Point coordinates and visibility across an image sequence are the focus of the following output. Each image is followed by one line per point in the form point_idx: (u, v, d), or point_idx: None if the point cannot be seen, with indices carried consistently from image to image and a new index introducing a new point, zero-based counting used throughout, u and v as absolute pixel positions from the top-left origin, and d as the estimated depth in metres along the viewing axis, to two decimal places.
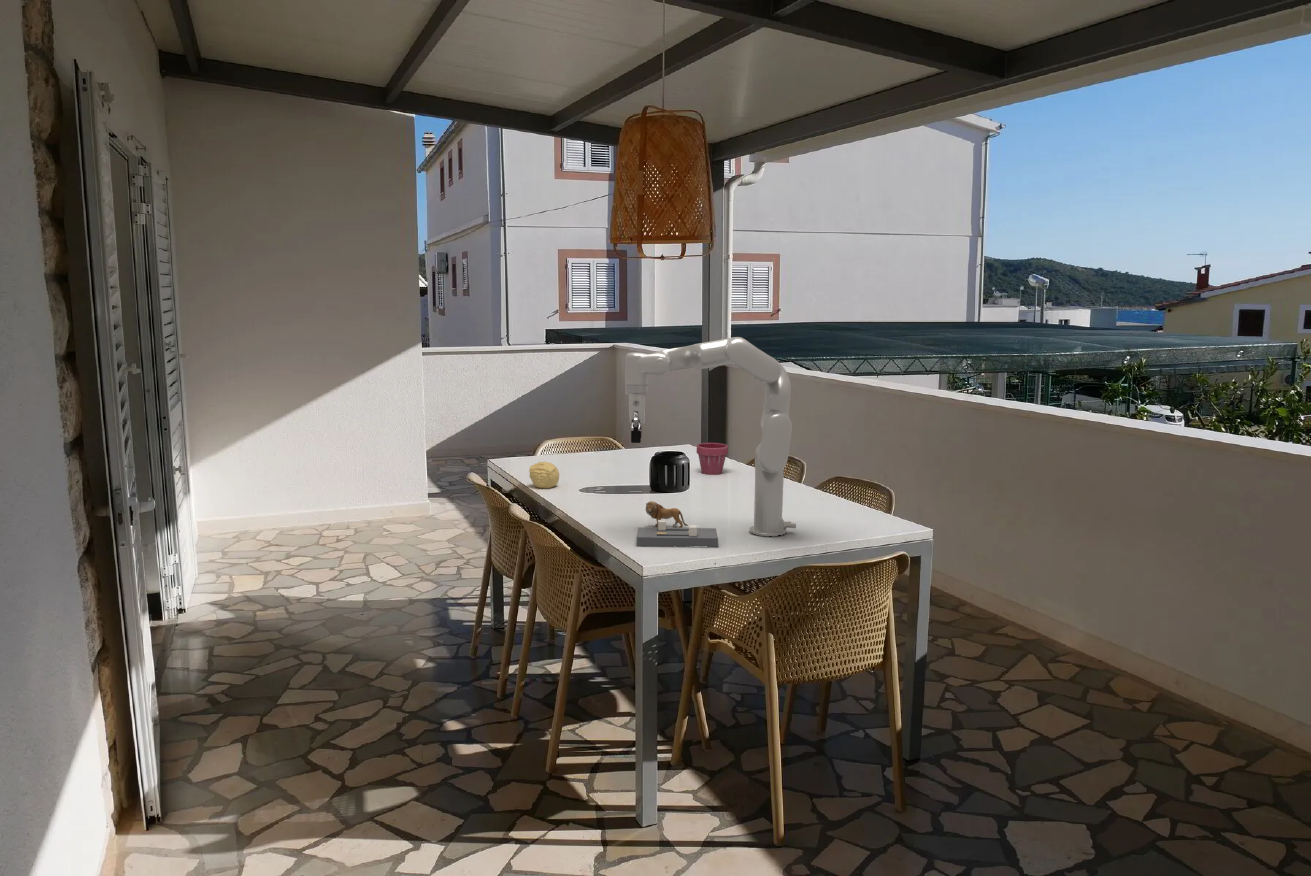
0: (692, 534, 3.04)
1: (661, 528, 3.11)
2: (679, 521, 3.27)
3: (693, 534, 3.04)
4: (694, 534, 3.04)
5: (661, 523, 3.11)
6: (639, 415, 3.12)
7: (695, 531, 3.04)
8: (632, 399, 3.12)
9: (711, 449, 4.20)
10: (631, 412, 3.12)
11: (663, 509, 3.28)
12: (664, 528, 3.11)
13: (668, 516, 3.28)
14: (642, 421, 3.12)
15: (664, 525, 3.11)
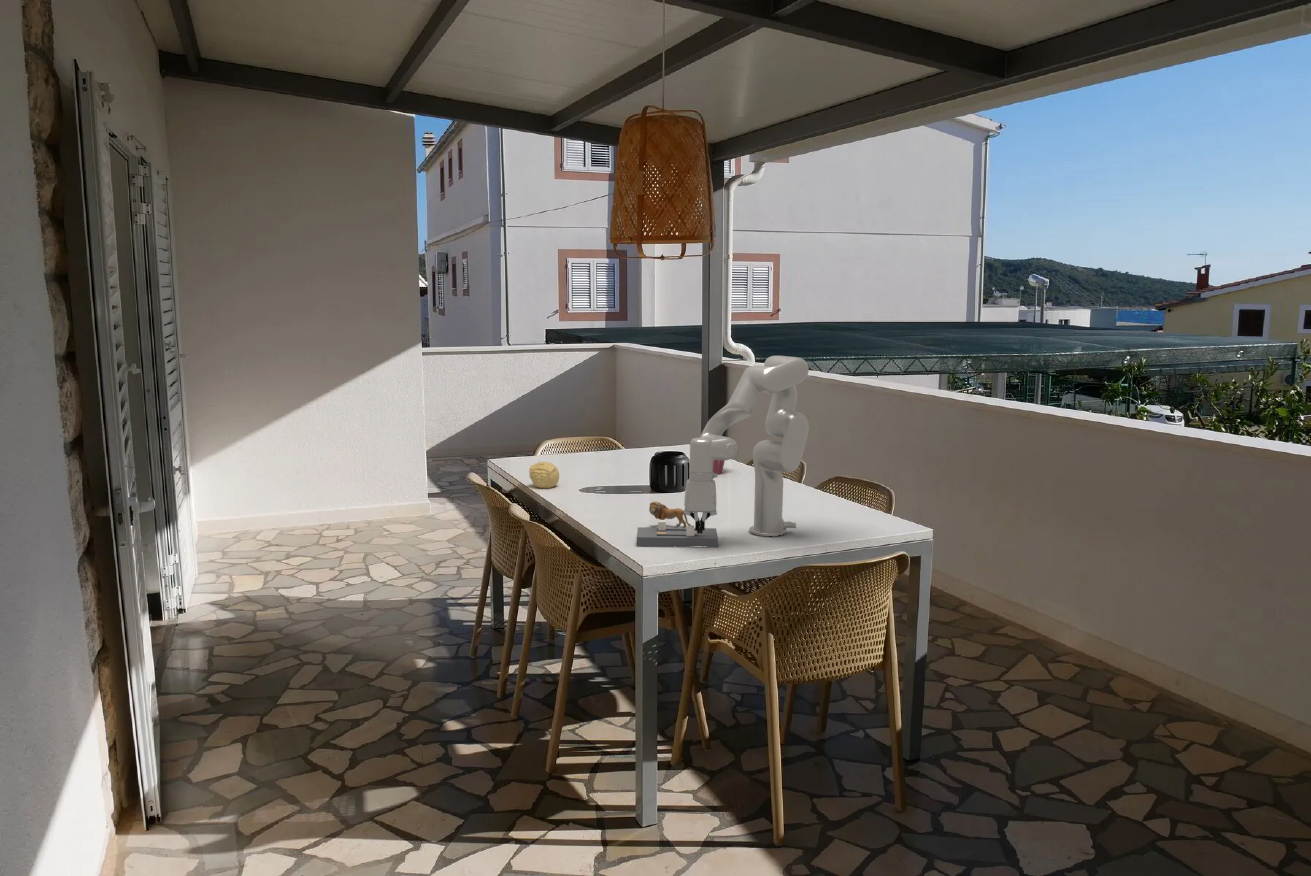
0: (689, 534, 3.04)
1: (661, 528, 3.11)
2: (683, 521, 3.27)
3: (690, 534, 3.04)
4: (691, 534, 3.04)
5: (661, 523, 3.11)
6: None
7: (692, 531, 3.04)
8: (715, 486, 3.02)
9: None
10: None
11: (667, 509, 3.28)
12: (664, 528, 3.11)
13: (672, 516, 3.28)
14: None
15: (664, 525, 3.11)
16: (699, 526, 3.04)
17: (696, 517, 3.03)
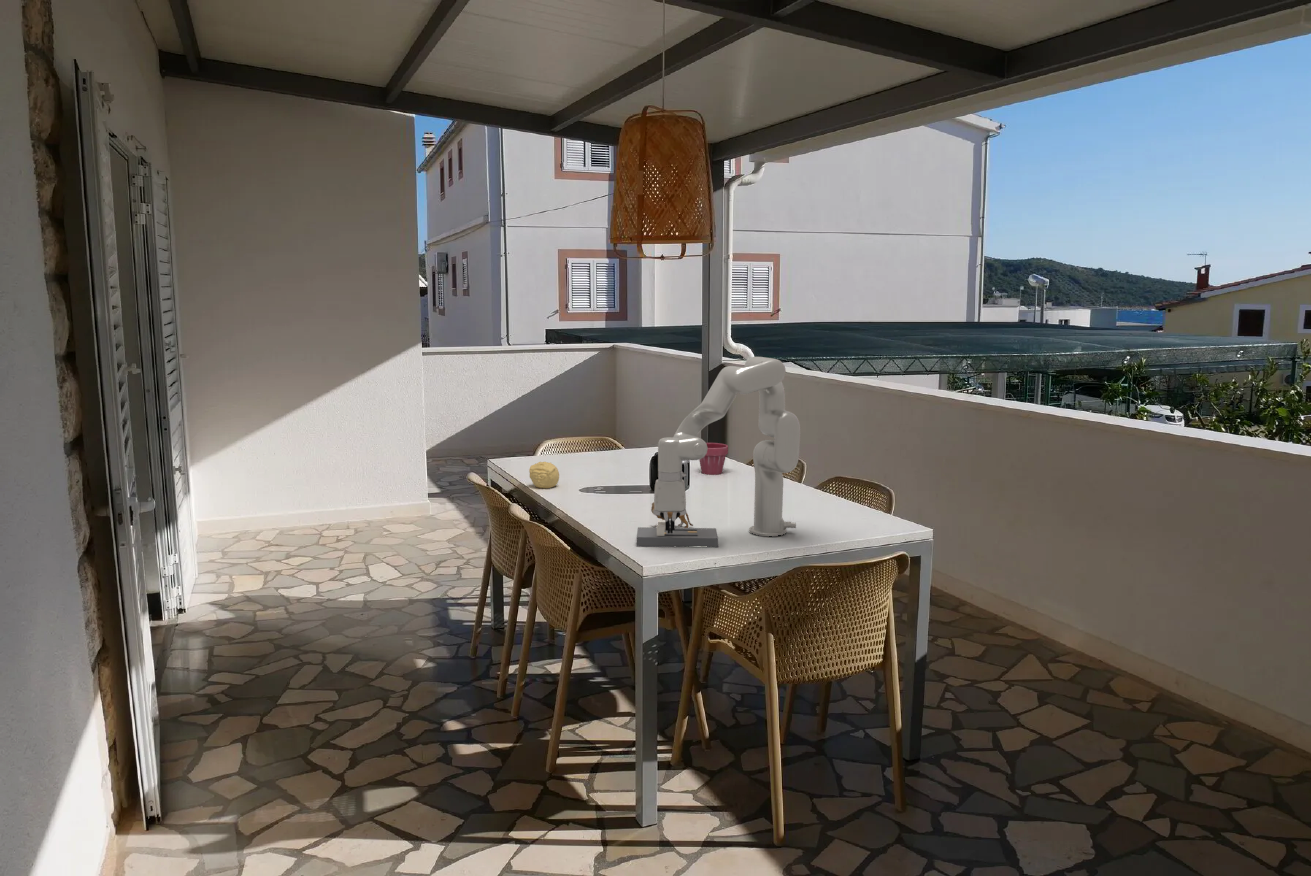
0: (660, 534, 3.04)
1: None
2: (685, 521, 3.27)
3: (661, 534, 3.04)
4: (662, 534, 3.04)
5: (661, 523, 3.11)
6: None
7: (663, 531, 3.04)
8: (684, 485, 3.02)
9: (711, 449, 4.20)
10: (685, 498, 3.02)
11: None
12: None
13: None
14: None
15: None
16: (669, 526, 3.04)
17: (666, 517, 3.03)
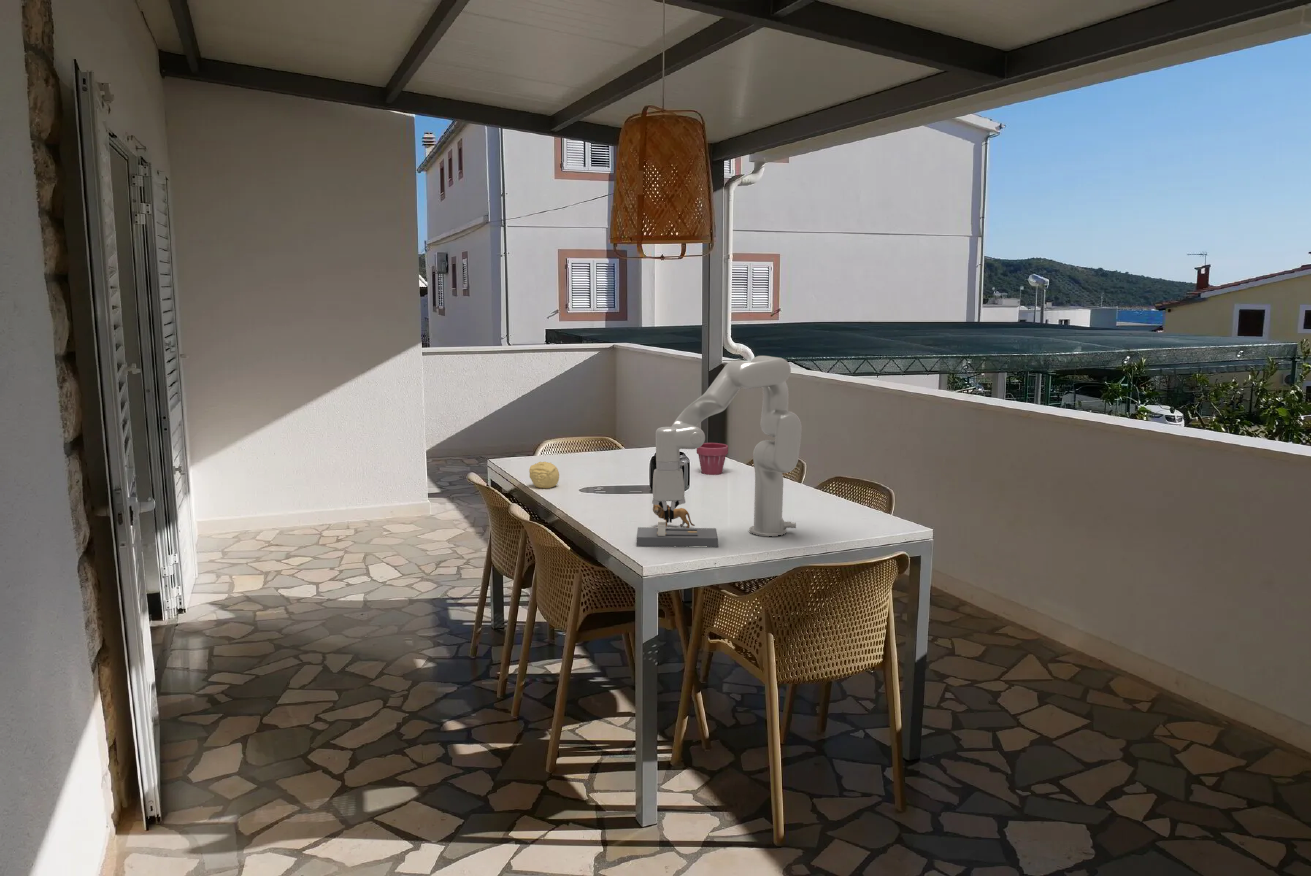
0: (661, 534, 3.04)
1: None
2: (686, 521, 3.27)
3: (662, 534, 3.04)
4: (663, 534, 3.04)
5: (661, 523, 3.11)
6: None
7: (664, 531, 3.04)
8: (682, 474, 3.02)
9: (711, 449, 4.20)
10: (683, 488, 3.02)
11: None
12: None
13: (675, 516, 3.28)
14: None
15: None
16: (668, 515, 3.04)
17: (665, 506, 3.03)
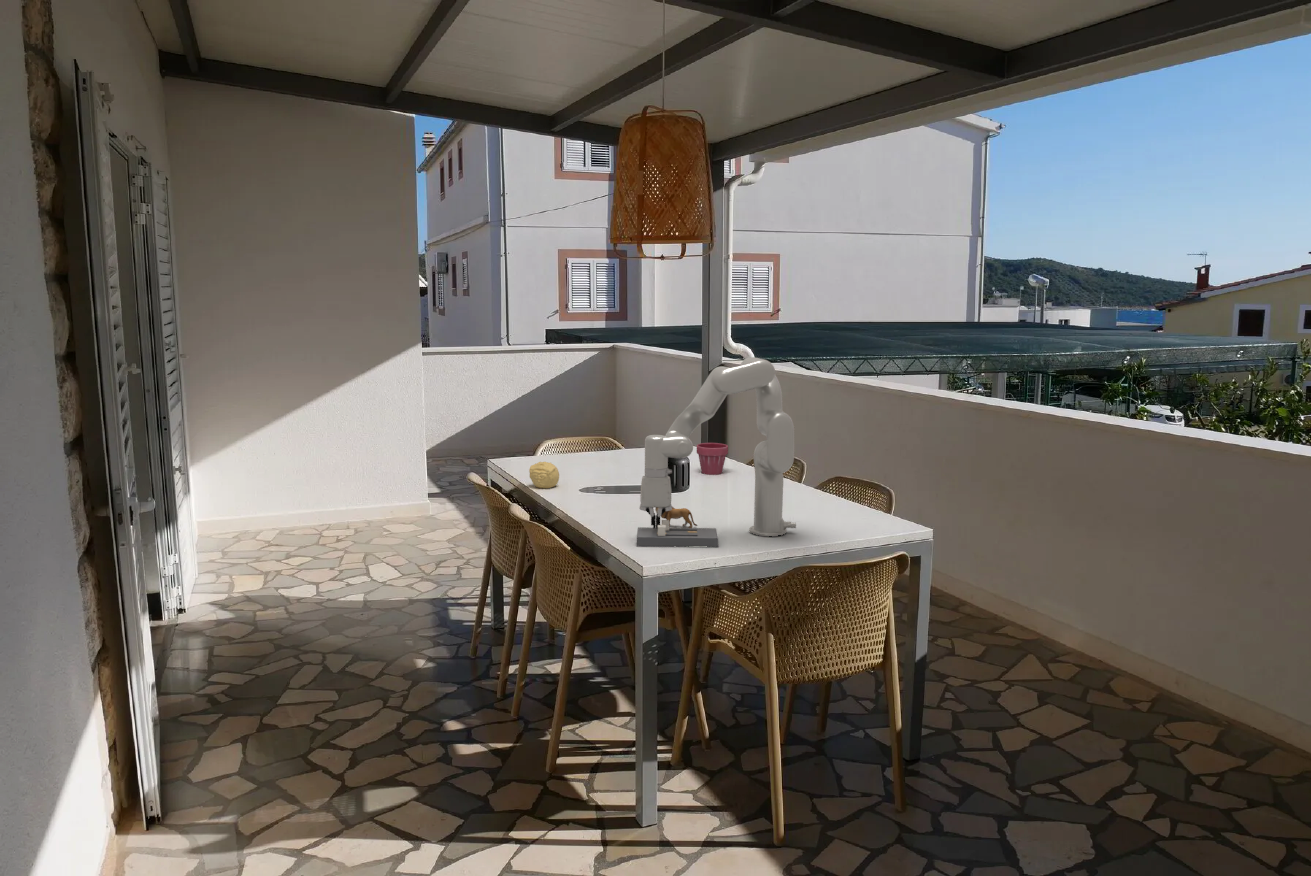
0: (661, 534, 3.04)
1: None
2: (689, 521, 3.27)
3: (662, 534, 3.04)
4: (663, 534, 3.04)
5: (665, 523, 3.11)
6: None
7: (664, 531, 3.04)
8: (669, 482, 3.09)
9: (711, 449, 4.20)
10: (670, 495, 3.09)
11: (673, 509, 3.28)
12: (668, 528, 3.11)
13: (678, 516, 3.28)
14: None
15: (668, 525, 3.11)
16: (654, 521, 3.11)
17: (651, 512, 3.11)
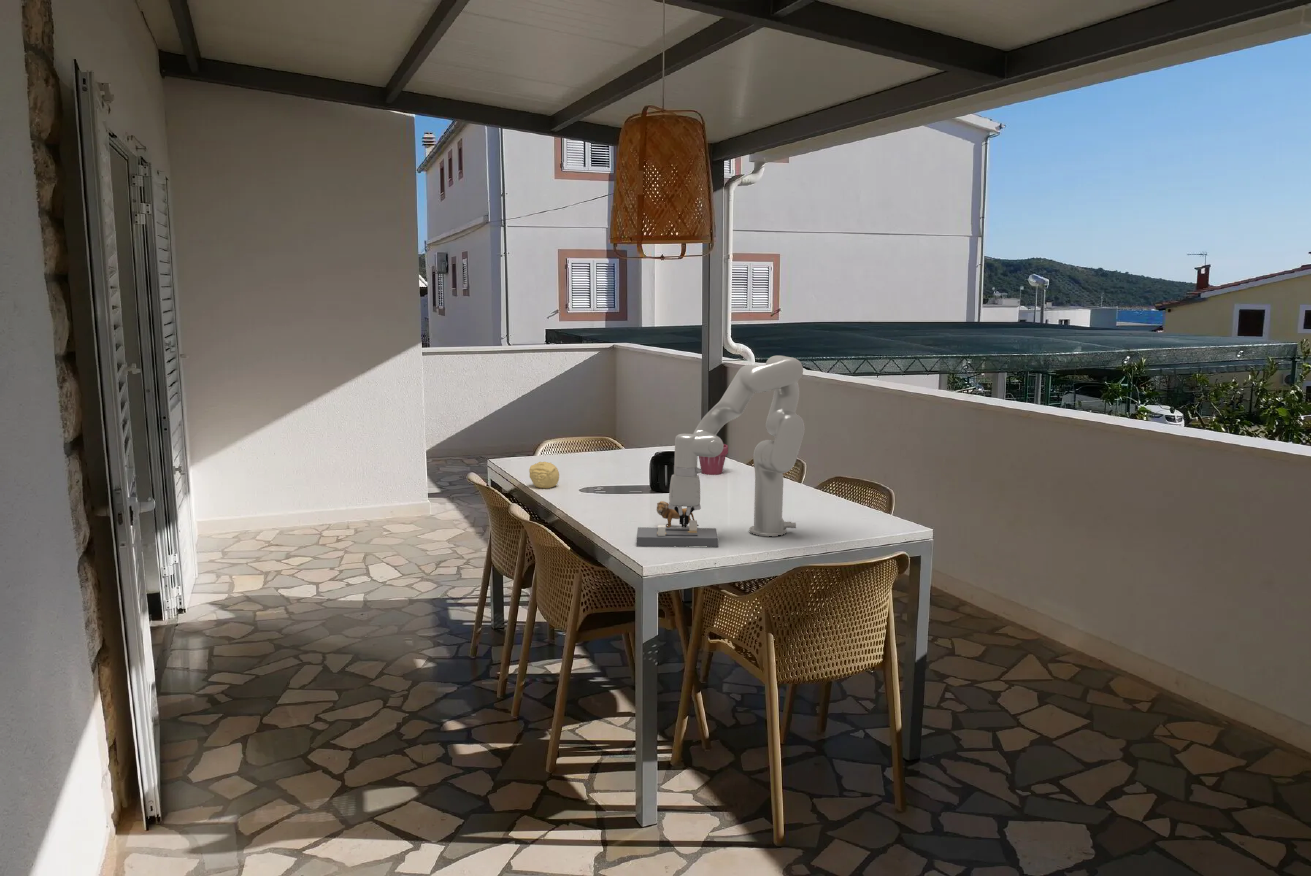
0: (661, 534, 3.04)
1: (692, 528, 3.11)
2: None
3: (662, 534, 3.04)
4: (663, 534, 3.04)
5: (692, 523, 3.11)
6: None
7: (664, 531, 3.04)
8: (699, 481, 3.09)
9: None
10: (699, 494, 3.09)
11: None
12: (695, 528, 3.11)
13: (679, 516, 3.28)
14: None
15: (695, 525, 3.11)
16: (683, 520, 3.10)
17: (680, 511, 3.10)
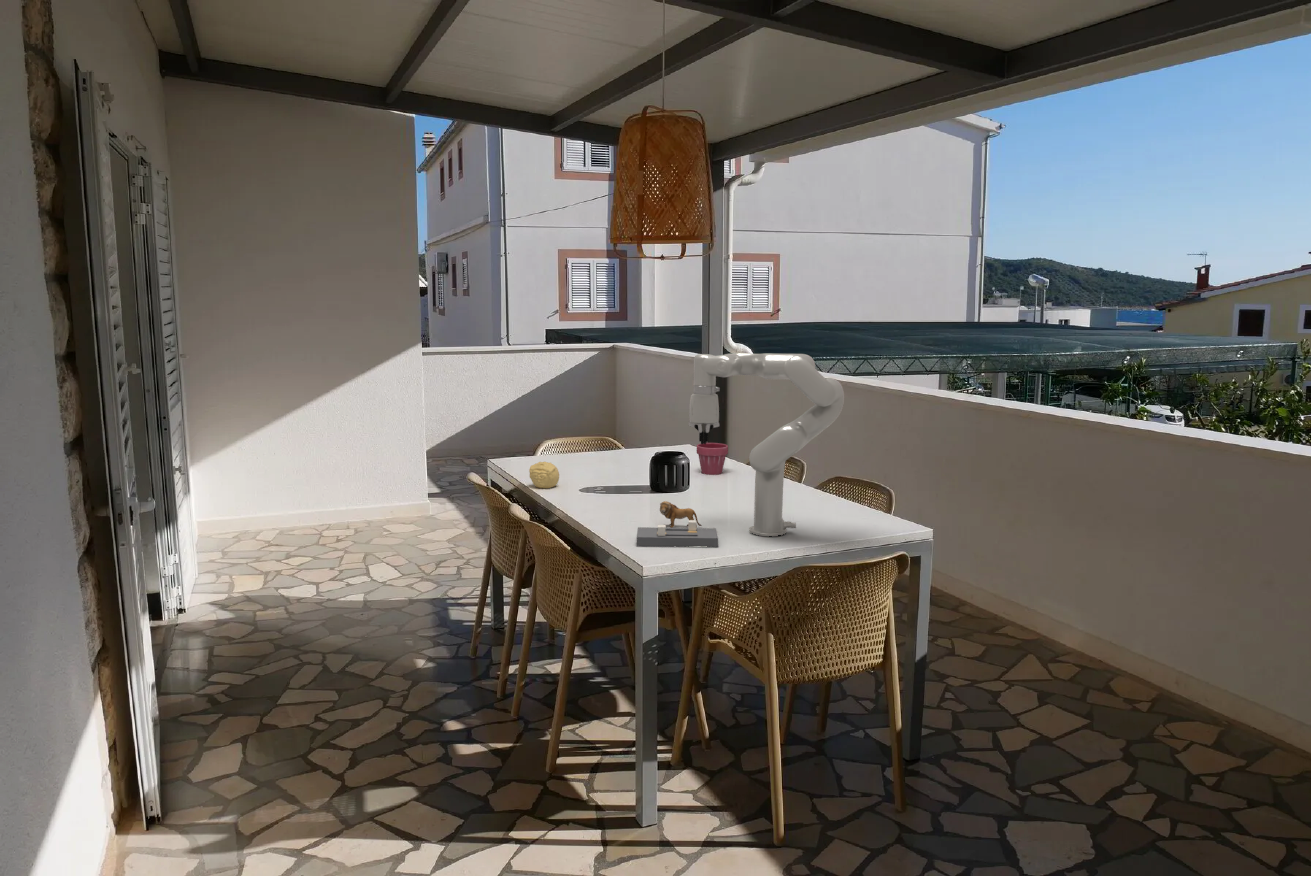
0: (661, 534, 3.04)
1: (692, 528, 3.11)
2: None
3: (662, 534, 3.04)
4: (663, 534, 3.04)
5: (692, 523, 3.11)
6: None
7: (664, 531, 3.04)
8: (717, 399, 3.23)
9: (711, 449, 4.20)
10: (718, 411, 3.23)
11: (677, 509, 3.28)
12: (695, 528, 3.11)
13: (682, 516, 3.28)
14: None
15: (695, 525, 3.11)
16: (703, 437, 3.25)
17: (700, 429, 3.24)
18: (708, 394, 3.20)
